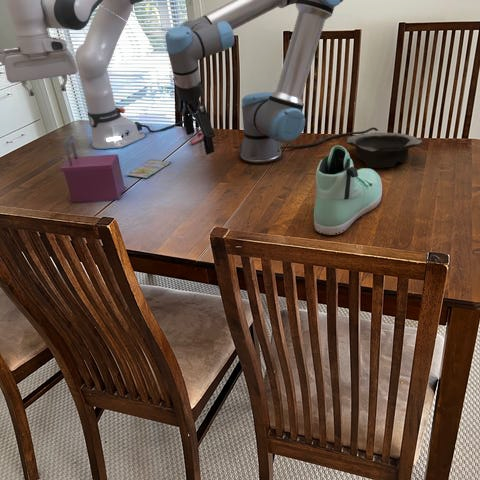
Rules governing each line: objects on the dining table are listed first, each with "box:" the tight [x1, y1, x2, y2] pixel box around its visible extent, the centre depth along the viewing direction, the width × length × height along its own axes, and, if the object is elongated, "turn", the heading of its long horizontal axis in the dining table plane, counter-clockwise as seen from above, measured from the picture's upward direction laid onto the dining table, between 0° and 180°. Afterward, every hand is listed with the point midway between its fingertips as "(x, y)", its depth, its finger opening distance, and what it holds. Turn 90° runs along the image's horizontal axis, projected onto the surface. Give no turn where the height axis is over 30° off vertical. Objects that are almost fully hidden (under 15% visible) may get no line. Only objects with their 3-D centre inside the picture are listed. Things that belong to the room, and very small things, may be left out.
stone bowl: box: [346, 132, 423, 169], centre depth 166 cm, size 25×25×9 cm
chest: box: [63, 157, 126, 203], centre depth 156 cm, size 15×9×11 cm, turn 89°
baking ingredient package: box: [126, 159, 170, 179], centre depth 174 cm, size 9×1×15 cm
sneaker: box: [313, 145, 383, 236], centre depth 133 cm, size 14×35×20 cm, turn 152°
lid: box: [59, 134, 119, 173], centre depth 151 cm, size 16×9×9 cm, turn 89°
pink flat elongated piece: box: [190, 130, 203, 145], centre depth 200 cm, size 6×15×2 cm, turn 145°
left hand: (48, 93), depth 147 cm, fingers open, 8 cm apart
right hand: (200, 142), depth 156 cm, fingers open, 13 cm apart
